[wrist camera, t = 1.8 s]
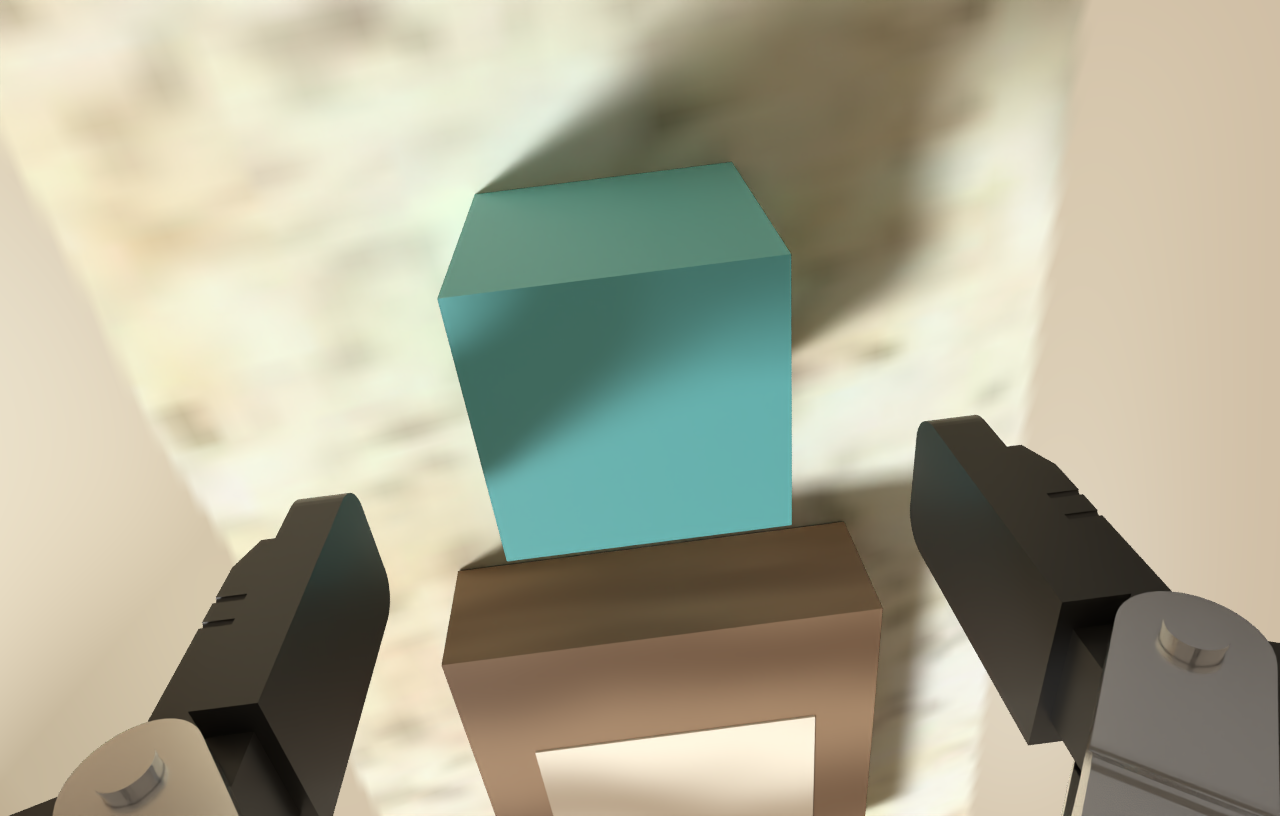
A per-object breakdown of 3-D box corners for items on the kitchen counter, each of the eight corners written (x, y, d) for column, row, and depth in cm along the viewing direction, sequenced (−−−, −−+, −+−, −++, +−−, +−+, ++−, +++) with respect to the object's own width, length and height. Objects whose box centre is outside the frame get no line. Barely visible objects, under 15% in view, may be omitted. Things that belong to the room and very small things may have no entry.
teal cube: (475, 192, 15) (437, 298, 11) (731, 160, 15) (791, 254, 11) (522, 409, 18) (506, 560, 14) (740, 381, 18) (791, 525, 14)
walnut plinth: (458, 571, 20) (441, 667, 18) (843, 521, 20) (883, 610, 18) (549, 861, 28) (546, 958, 25) (830, 824, 28) (856, 917, 25)
